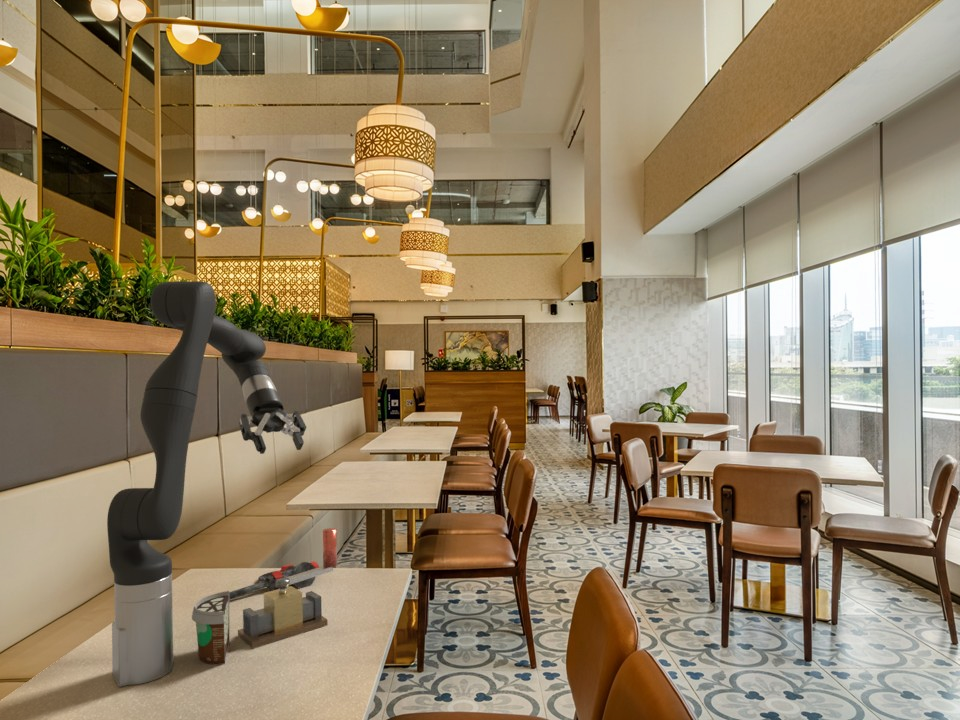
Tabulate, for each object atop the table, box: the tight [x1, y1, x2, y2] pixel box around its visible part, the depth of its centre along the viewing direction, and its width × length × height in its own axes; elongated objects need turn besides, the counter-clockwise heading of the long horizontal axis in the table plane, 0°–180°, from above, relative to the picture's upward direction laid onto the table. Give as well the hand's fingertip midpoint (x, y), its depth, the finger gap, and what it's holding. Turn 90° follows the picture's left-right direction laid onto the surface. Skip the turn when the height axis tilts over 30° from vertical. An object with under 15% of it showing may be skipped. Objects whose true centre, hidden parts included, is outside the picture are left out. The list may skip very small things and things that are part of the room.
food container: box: [191, 590, 231, 665], centre depth 117 cm, size 12×6×10 cm, turn 18°
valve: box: [229, 561, 320, 600], centre depth 154 cm, size 6×26×15 cm
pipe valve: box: [237, 585, 329, 649], centre depth 127 cm, size 16×8×9 cm, turn 131°
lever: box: [276, 527, 338, 588], centre depth 132 cm, size 15×3×9 cm, turn 140°
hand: (282, 449), depth 137 cm, fingers open, 8 cm apart
